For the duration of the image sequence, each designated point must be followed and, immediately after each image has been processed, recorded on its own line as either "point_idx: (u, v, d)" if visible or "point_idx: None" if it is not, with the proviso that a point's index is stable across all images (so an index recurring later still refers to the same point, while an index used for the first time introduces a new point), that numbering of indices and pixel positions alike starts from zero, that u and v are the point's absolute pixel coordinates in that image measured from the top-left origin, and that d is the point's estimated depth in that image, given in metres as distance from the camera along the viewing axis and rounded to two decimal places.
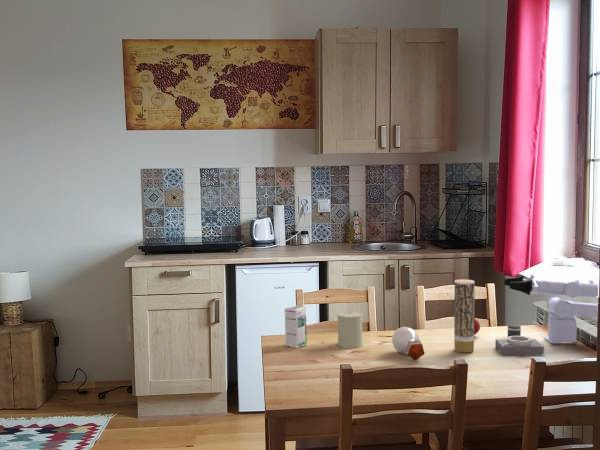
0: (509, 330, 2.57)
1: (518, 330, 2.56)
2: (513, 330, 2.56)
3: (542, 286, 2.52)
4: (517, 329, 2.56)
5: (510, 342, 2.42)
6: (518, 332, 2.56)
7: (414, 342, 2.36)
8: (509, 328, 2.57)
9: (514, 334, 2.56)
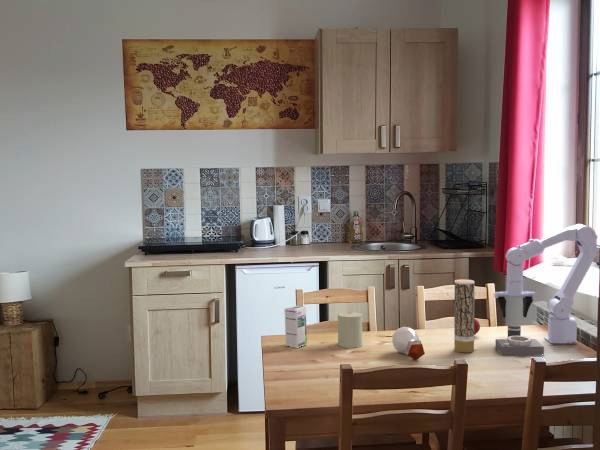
0: (509, 330, 2.57)
1: (518, 330, 2.56)
2: (513, 330, 2.56)
3: None
4: (517, 329, 2.56)
5: (510, 342, 2.42)
6: (518, 332, 2.56)
7: (414, 342, 2.35)
8: (509, 328, 2.57)
9: (514, 334, 2.56)
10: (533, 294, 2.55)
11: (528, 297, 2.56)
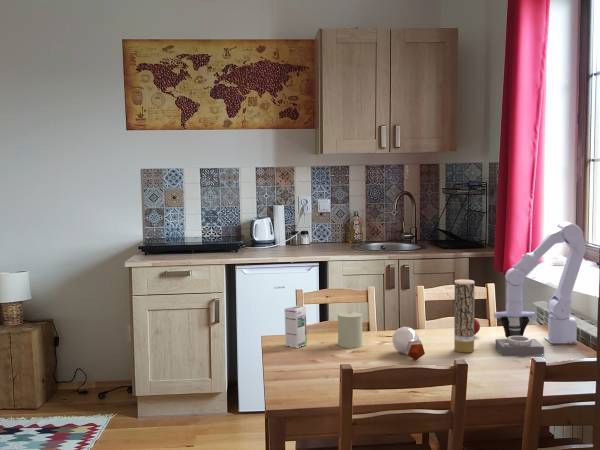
0: (509, 330, 2.57)
1: (518, 330, 2.56)
2: (513, 330, 2.56)
3: (506, 304, 2.57)
4: (517, 329, 2.56)
5: (510, 342, 2.42)
6: (518, 332, 2.56)
7: (414, 342, 2.35)
8: (509, 328, 2.57)
9: (514, 334, 2.56)
10: (533, 314, 2.56)
11: (528, 317, 2.56)
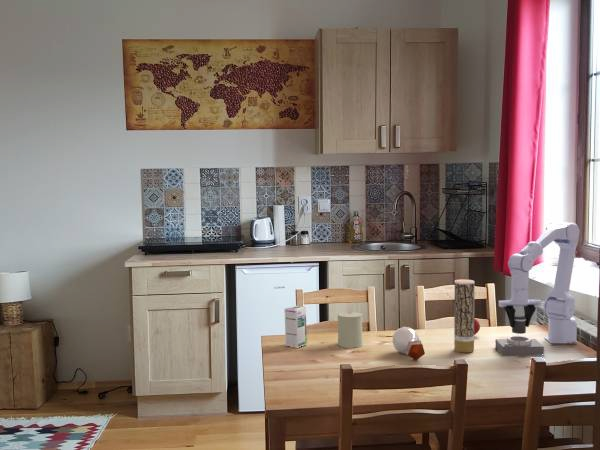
0: (514, 321, 2.43)
1: (524, 321, 2.42)
2: (518, 321, 2.42)
3: (511, 292, 2.43)
4: (523, 320, 2.41)
5: (510, 342, 2.42)
6: (524, 323, 2.42)
7: (414, 342, 2.35)
8: (514, 319, 2.42)
9: (520, 325, 2.42)
10: (539, 302, 2.42)
11: (534, 305, 2.42)
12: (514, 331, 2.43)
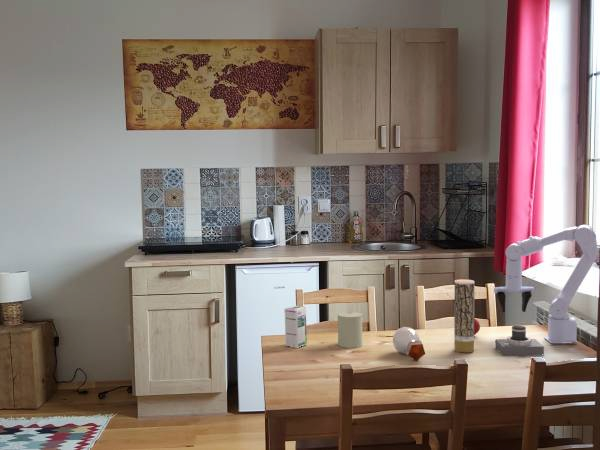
0: (514, 331, 2.43)
1: (523, 331, 2.42)
2: (518, 331, 2.42)
3: (506, 279, 2.62)
4: (522, 330, 2.42)
5: (510, 342, 2.42)
6: (523, 333, 2.42)
7: (415, 342, 2.35)
8: (514, 329, 2.43)
9: (520, 335, 2.42)
10: (532, 289, 2.60)
11: (527, 292, 2.61)
12: None
